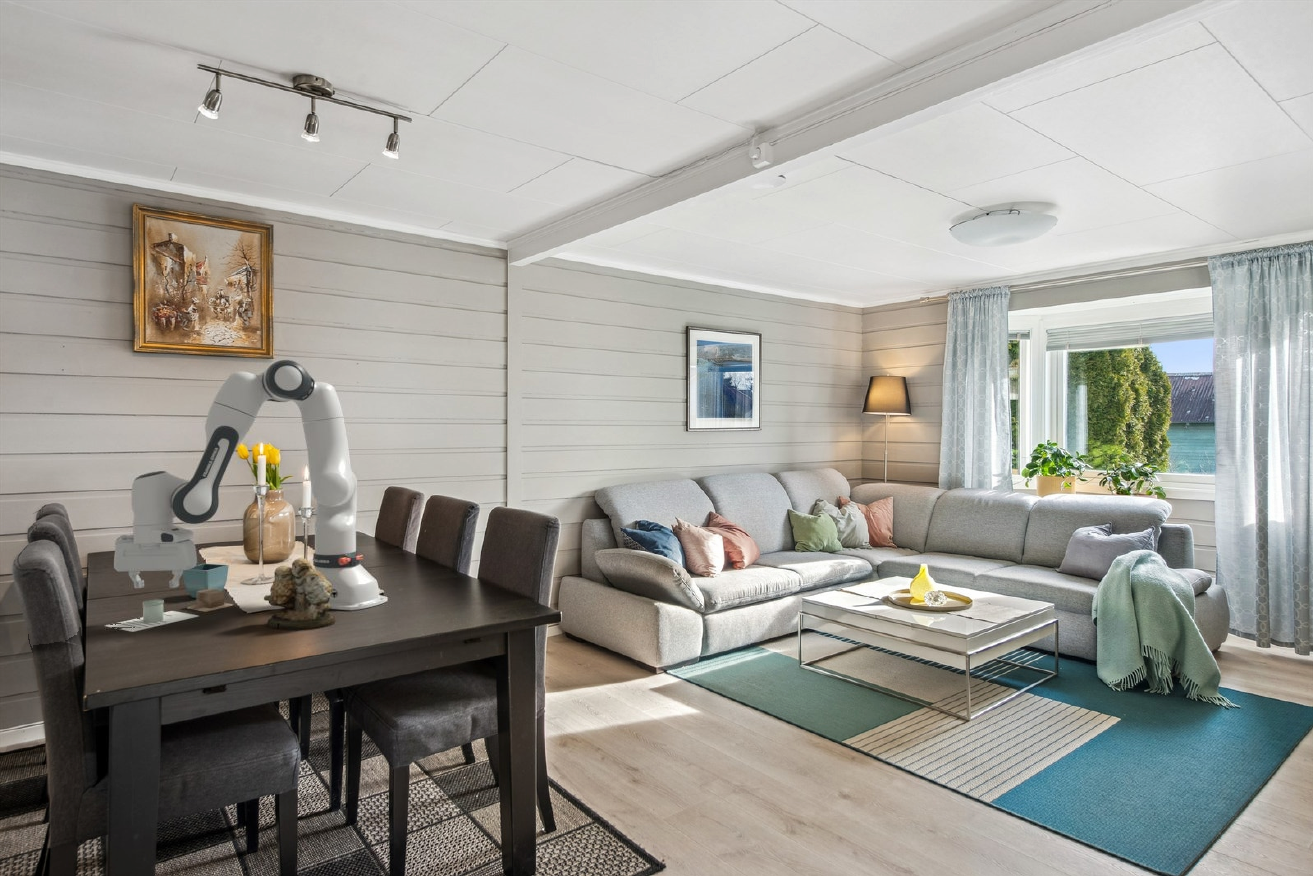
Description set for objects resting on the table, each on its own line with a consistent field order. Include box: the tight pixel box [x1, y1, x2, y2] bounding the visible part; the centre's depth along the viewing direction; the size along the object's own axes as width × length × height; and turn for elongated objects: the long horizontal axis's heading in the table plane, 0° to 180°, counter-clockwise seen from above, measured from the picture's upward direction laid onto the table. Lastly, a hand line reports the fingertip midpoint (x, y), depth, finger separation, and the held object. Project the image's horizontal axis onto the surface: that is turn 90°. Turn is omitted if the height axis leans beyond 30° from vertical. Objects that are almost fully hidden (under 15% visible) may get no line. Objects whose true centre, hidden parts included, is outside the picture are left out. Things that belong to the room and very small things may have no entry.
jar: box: [142, 598, 165, 623], centre depth 197 cm, size 5×5×5 cm
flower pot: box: [182, 563, 230, 599], centre depth 225 cm, size 9×9×9 cm
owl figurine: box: [263, 557, 336, 631], centre depth 196 cm, size 18×12×17 cm, turn 87°
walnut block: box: [195, 589, 225, 608], centre depth 212 cm, size 6×4×4 cm, turn 64°
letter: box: [104, 610, 199, 632], centre depth 197 cm, size 12×17×1 cm
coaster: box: [186, 602, 234, 612], centre depth 212 cm, size 8×8×1 cm
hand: (156, 587), depth 197 cm, fingers open, 8 cm apart
